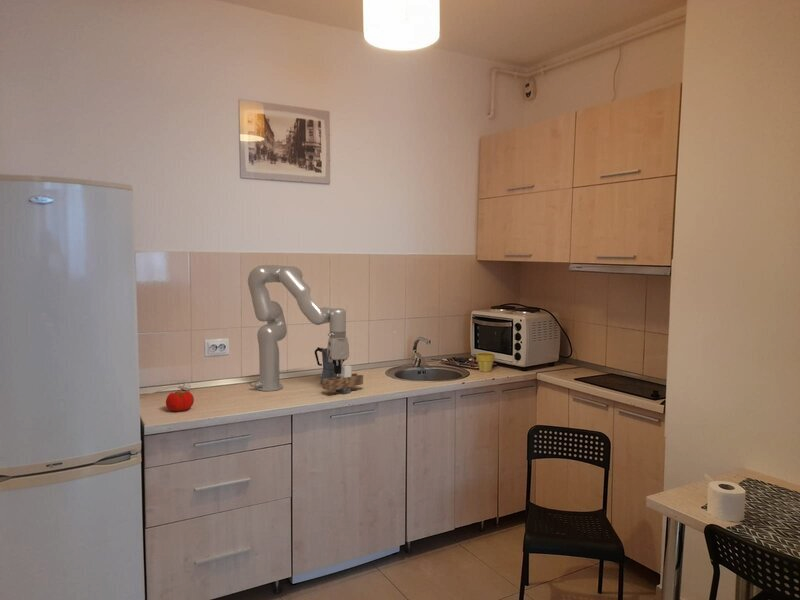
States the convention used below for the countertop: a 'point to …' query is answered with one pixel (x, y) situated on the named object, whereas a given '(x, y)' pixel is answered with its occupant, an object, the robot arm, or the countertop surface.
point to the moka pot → (325, 364)
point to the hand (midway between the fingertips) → (337, 373)
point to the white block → (345, 371)
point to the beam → (342, 383)
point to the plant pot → (485, 361)
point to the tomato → (179, 401)
